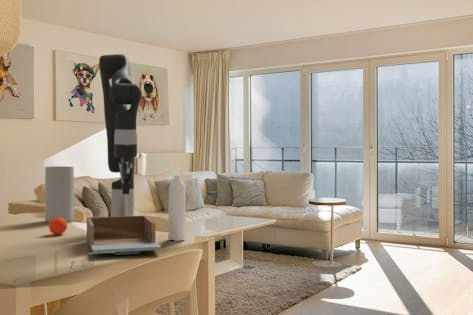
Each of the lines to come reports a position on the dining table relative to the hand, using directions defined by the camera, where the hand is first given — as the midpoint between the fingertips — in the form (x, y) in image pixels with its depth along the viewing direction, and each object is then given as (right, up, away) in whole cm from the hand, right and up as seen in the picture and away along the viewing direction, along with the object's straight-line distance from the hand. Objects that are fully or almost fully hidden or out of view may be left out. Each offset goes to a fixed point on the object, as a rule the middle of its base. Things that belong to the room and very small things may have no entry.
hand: (125, 193), depth 189 cm
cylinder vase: (-44, -17, +68) cm, 83 cm away
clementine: (-33, -18, +32) cm, 50 cm away
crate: (-4, -19, +11) cm, 23 cm away
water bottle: (+16, -19, +23) cm, 34 cm away
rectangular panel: (-1, -18, +1) cm, 18 cm away
